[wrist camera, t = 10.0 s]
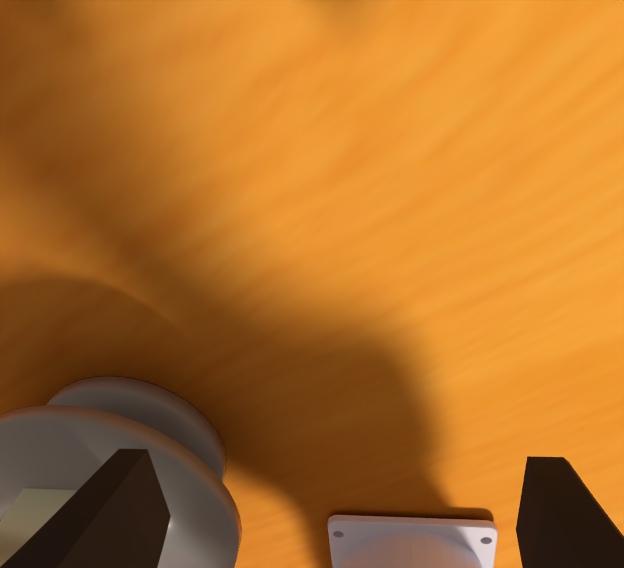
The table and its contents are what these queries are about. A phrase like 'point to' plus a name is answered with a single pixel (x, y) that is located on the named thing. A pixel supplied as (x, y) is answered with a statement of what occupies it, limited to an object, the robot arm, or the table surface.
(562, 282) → the table surface
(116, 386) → the cake stand
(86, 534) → the robot arm
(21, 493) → the block
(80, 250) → the table surface
